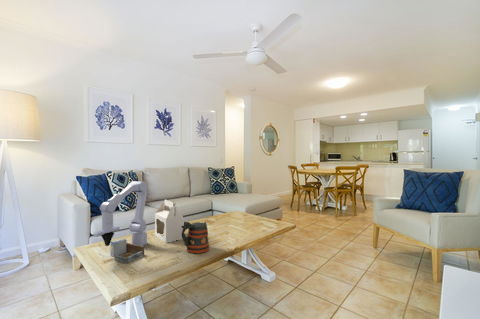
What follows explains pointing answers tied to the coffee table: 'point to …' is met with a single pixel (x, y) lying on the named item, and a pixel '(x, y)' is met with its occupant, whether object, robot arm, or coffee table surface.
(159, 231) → the gable box
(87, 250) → the coffee table surface
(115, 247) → the medicine box
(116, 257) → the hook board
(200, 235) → the beer stein
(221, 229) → the coffee table surface
